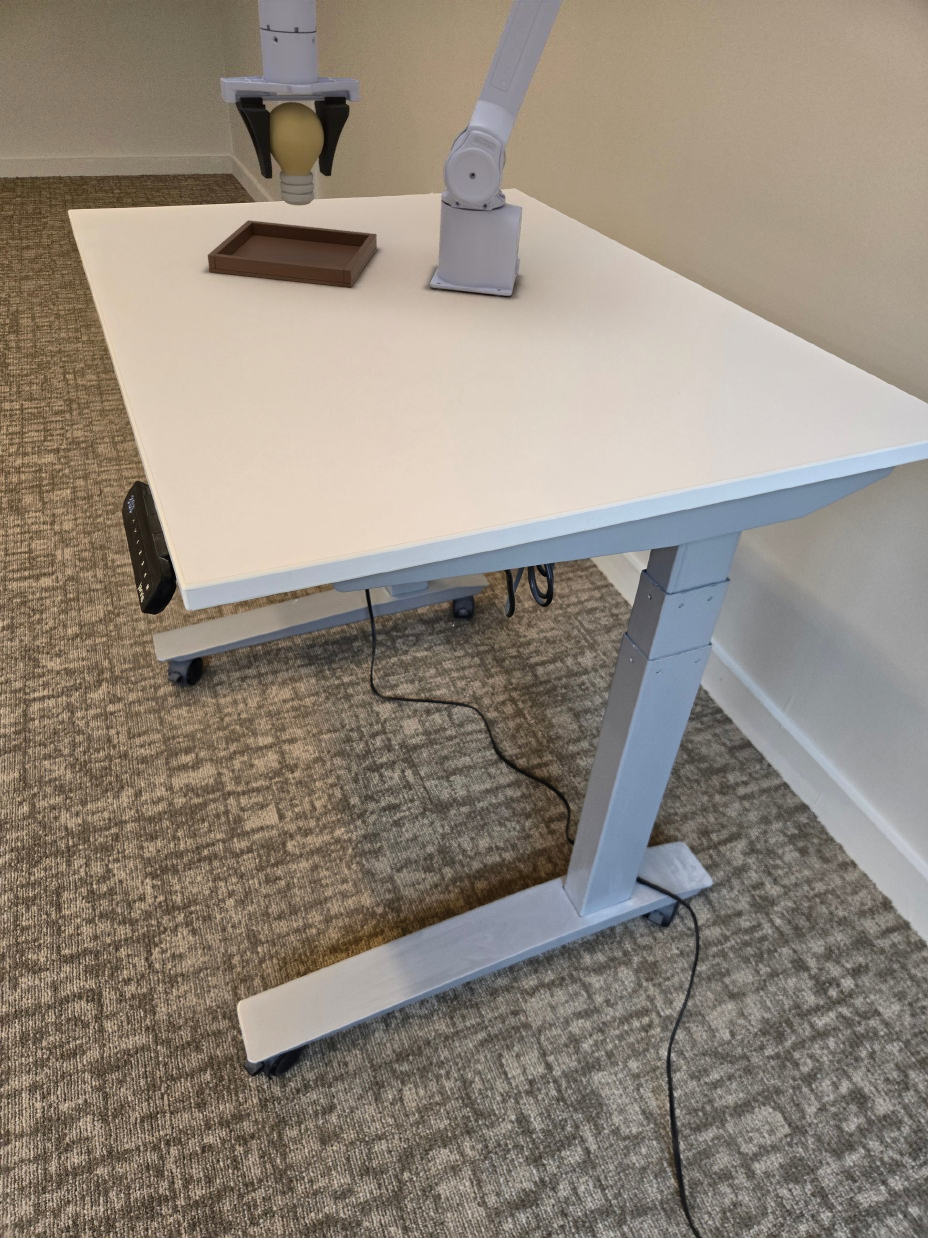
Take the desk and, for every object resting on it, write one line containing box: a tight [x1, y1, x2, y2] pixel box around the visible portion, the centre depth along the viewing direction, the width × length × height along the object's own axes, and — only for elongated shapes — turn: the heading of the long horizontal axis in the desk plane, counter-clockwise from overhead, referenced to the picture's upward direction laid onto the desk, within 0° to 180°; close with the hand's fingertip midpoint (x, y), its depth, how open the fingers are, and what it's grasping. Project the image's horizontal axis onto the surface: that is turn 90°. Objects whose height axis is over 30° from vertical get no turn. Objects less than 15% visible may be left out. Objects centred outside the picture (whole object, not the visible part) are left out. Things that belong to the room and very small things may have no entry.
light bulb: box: [269, 101, 324, 206], centre depth 96 cm, size 6×6×10 cm
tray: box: [207, 220, 378, 288], centre depth 104 cm, size 17×15×2 cm
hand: (296, 175), depth 97 cm, fingers closed on light bulb, 6 cm apart
